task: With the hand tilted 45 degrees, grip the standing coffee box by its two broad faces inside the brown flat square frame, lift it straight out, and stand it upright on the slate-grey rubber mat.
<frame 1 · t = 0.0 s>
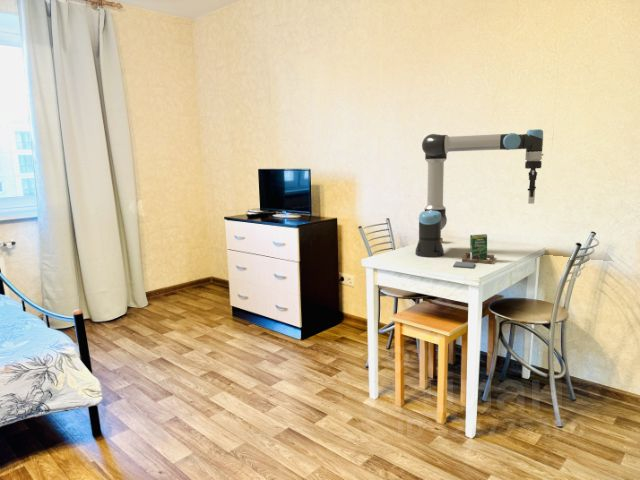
hand: (531, 202, 229), 28 cm above the table, tool pointing down, fingers open, 13 cm apart
coffee box: (478, 260, 226), resting in brown flat square frame
brown flat square frame: (478, 259, 226), on the table
bracket: (432, 242, 276), on the table
mat: (464, 265, 215), on the table
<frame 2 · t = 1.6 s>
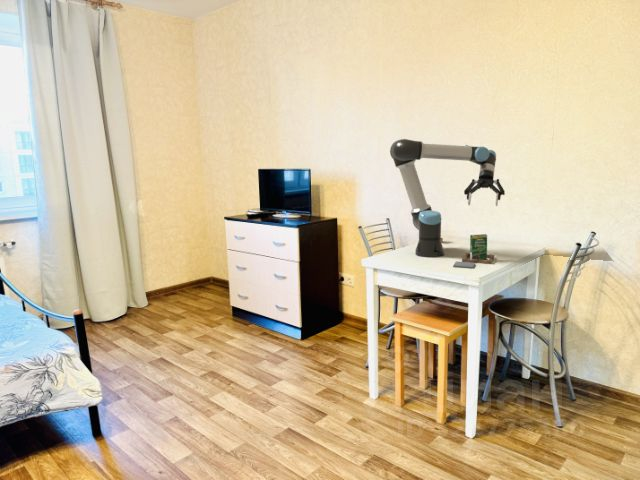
hand: (482, 204, 231), 28 cm above the table, tool tilted 45°, fingers open, 13 cm apart
nothing on the table moved.
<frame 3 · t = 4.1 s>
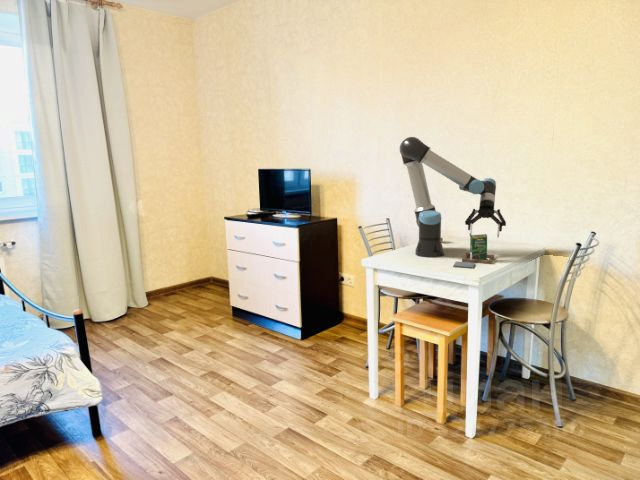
hand: (484, 235, 230), 12 cm above the table, tool tilted 45°, fingers open, 13 cm apart
nothing on the table moved.
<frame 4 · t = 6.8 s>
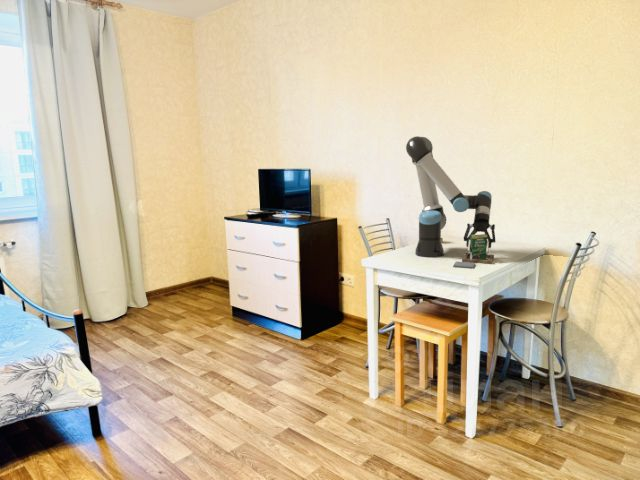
hand: (477, 252, 222), 5 cm above the table, tool tilted 45°, fingers closed on coffee box, 8 cm apart
coffee box: (478, 260, 226), resting in brown flat square frame, touching gripper
everything else where it was.
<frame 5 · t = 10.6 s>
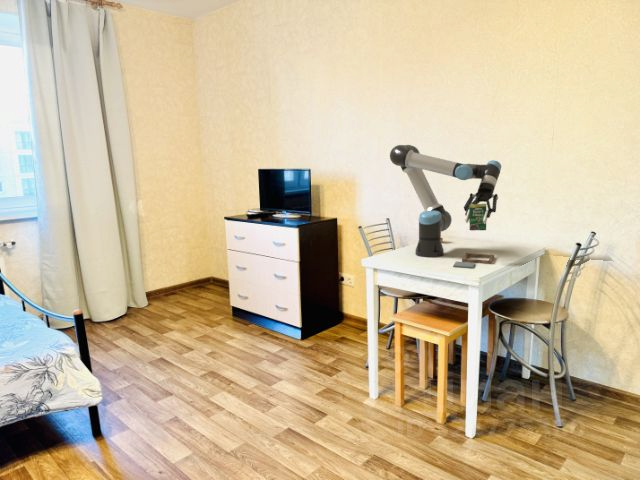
hand: (475, 221, 216), 21 cm above the table, tool tilted 45°, fingers closed on coffee box, 8 cm apart
coffee box: (477, 230, 220), point 16 cm above the table, touching gripper
everything else where it was.
when the fingers open (7 cm above the table, at t = 14.7 s): coffee box drops 1 cm, resting on mat.
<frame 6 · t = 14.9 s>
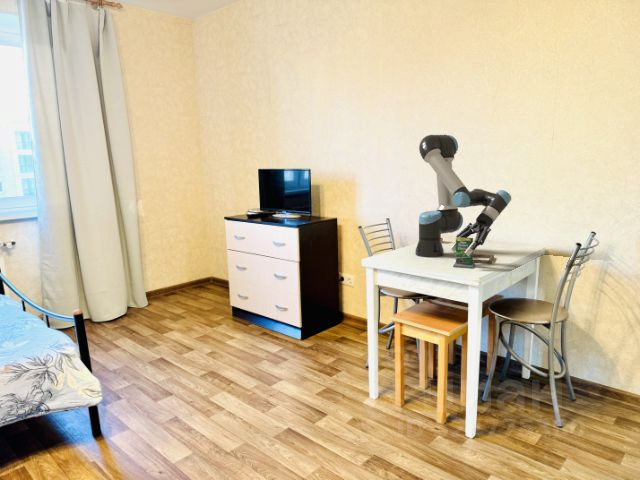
hand: (459, 252, 213), 7 cm above the table, tool tilted 45°, fingers open, 10 cm apart
coffee box: (463, 264, 215), point 1 cm above the table, touching mat
everything else where it was.
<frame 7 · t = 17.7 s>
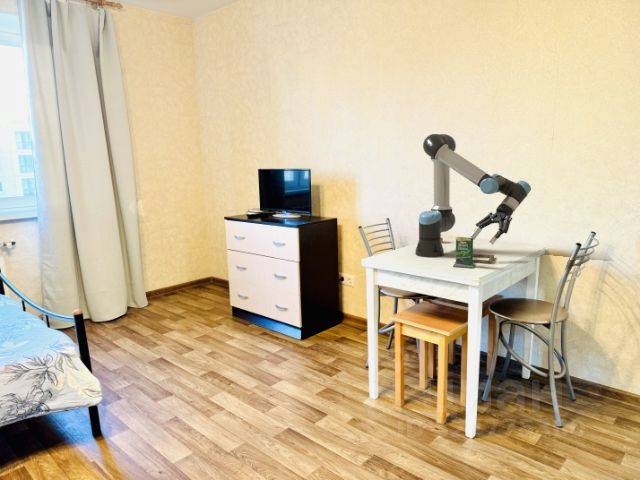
hand: (481, 240, 216), 12 cm above the table, tool tilted 45°, fingers open, 13 cm apart
nothing on the table moved.
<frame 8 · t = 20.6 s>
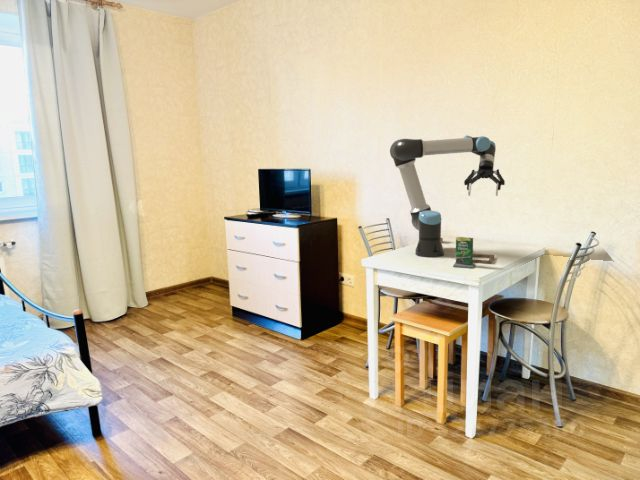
hand: (482, 194, 231), 33 cm above the table, tool tilted 45°, fingers open, 13 cm apart
nothing on the table moved.
at the end: coffee box inside the target area on the mat (0.4 cm from its centre), point 0.6 cm above the mat's base; coffee box tilted 0°; the gripper is holding nothing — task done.
